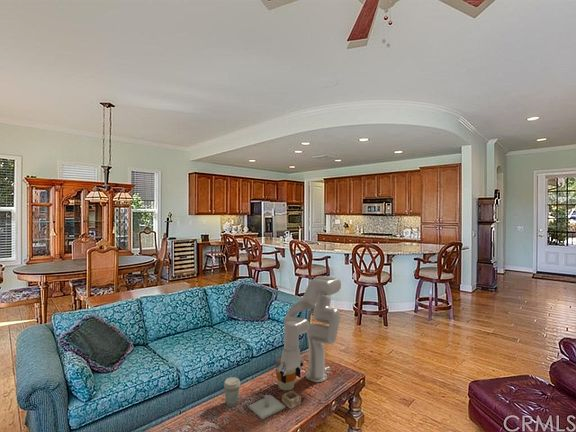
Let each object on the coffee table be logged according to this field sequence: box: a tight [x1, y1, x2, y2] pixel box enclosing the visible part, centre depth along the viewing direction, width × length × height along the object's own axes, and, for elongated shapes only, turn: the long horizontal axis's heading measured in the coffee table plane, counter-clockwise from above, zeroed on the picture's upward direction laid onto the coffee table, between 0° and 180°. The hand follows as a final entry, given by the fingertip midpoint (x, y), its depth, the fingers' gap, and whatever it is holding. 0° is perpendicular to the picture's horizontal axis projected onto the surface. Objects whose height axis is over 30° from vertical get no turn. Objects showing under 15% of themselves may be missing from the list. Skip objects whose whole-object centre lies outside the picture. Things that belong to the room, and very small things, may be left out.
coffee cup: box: [223, 376, 241, 408], centre depth 166 cm, size 8×8×12 cm
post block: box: [248, 394, 286, 420], centre depth 163 cm, size 14×12×6 cm
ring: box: [281, 389, 302, 410], centre depth 167 cm, size 7×7×4 cm
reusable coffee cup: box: [274, 354, 297, 391], centre depth 183 cm, size 13×13×15 cm
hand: (290, 379), depth 166 cm, fingers open, 9 cm apart
